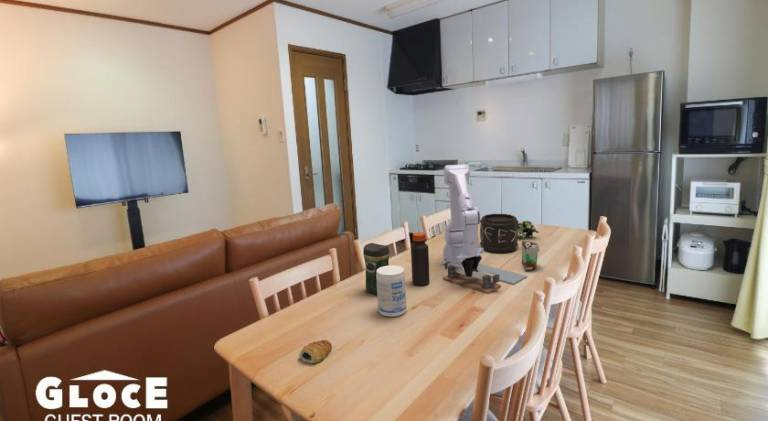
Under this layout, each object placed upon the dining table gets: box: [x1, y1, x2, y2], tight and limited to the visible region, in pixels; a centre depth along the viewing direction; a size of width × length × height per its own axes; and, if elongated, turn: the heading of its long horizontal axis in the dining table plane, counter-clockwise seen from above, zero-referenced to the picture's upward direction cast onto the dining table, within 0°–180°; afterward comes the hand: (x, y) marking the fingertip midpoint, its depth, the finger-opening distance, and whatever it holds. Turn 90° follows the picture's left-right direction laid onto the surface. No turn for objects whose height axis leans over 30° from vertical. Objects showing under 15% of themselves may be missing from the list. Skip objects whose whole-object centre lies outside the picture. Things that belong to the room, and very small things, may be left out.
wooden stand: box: [442, 263, 501, 295], centre depth 150 cm, size 21×8×6 cm, turn 42°
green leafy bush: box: [518, 220, 539, 241], centre depth 203 cm, size 11×11×12 cm
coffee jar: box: [362, 242, 390, 295], centre depth 146 cm, size 10×8×19 cm
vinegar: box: [410, 232, 430, 287], centre depth 151 cm, size 7×7×20 cm
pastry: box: [298, 339, 333, 364], centre depth 108 cm, size 9×7×4 cm
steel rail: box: [444, 262, 500, 284], centre depth 149 cm, size 23×2×2 cm, turn 42°
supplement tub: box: [376, 264, 407, 318], centre depth 130 cm, size 10×10×15 cm
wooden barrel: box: [479, 213, 520, 254], centre depth 188 cm, size 18×18×16 cm
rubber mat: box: [477, 263, 528, 286], centre depth 159 cm, size 26×10×1 cm, turn 42°
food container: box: [521, 240, 541, 272], centre depth 162 cm, size 12×6×10 cm, turn 168°
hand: (470, 275), depth 149 cm, fingers closed on steel rail, 2 cm apart
